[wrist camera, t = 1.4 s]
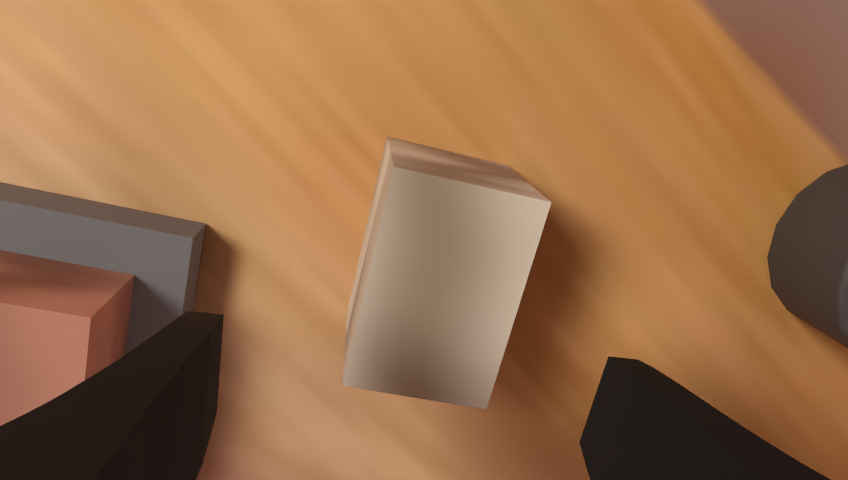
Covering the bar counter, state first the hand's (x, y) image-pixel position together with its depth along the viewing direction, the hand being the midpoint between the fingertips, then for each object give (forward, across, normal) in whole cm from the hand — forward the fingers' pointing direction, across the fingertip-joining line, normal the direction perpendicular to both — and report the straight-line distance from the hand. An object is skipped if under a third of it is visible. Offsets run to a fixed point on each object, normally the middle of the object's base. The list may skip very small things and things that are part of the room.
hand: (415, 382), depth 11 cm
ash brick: (+9, -1, +1) cm, 9 cm away
